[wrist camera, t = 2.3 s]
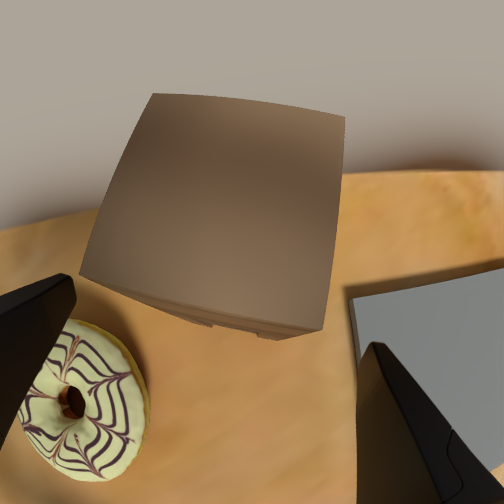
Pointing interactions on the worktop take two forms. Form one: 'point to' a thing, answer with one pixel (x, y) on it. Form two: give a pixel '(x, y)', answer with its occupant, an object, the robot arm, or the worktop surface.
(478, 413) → the mat
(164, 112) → the stool
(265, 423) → the worktop surface
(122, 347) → the decorated donut
